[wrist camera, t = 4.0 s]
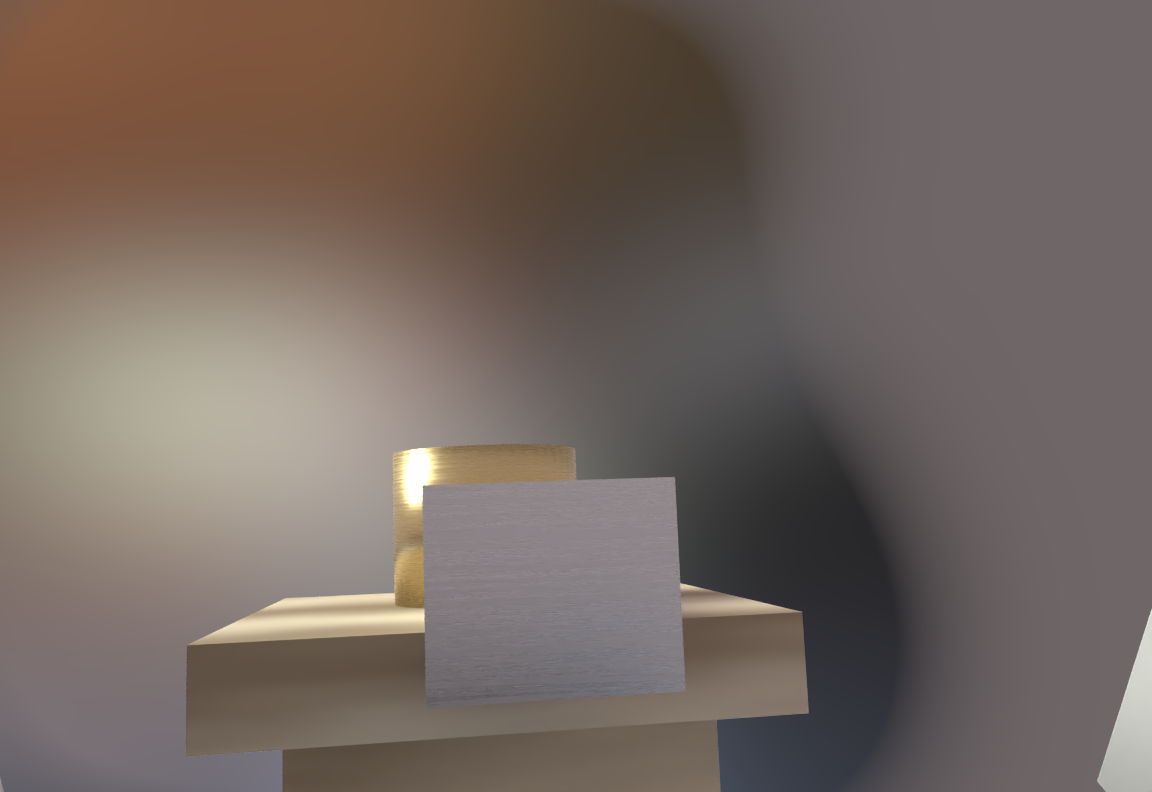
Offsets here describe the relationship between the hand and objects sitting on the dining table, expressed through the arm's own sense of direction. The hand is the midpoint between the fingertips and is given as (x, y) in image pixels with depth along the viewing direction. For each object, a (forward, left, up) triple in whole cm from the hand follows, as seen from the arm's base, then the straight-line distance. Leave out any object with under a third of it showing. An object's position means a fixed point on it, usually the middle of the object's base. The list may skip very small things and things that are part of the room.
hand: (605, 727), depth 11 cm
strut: (-6, +7, 0) cm, 9 cm away
